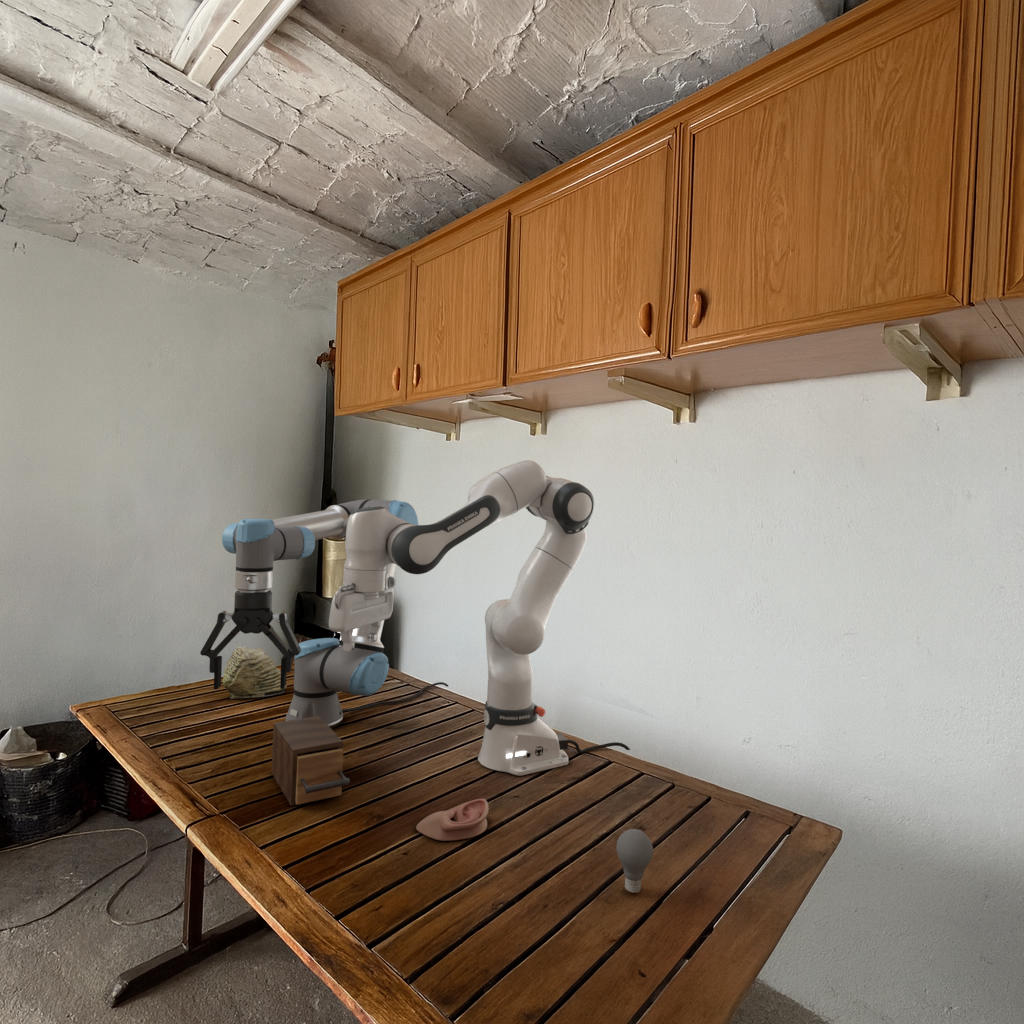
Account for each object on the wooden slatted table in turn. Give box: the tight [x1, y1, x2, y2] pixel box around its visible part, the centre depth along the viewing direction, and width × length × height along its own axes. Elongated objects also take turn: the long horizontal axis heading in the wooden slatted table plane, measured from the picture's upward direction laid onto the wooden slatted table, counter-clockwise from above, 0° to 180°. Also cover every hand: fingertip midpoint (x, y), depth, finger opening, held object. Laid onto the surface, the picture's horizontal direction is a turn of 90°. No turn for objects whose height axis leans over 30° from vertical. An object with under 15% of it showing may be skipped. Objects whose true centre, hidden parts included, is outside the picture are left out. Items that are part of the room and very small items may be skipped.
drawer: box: [296, 748, 351, 806], centre depth 135 cm, size 22×9×10 cm, turn 33°
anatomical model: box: [415, 798, 489, 842], centre depth 124 cm, size 13×4×12 cm
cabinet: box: [271, 716, 344, 807], centre depth 139 cm, size 18×10×12 cm, turn 33°
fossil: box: [222, 646, 288, 699], centre depth 198 cm, size 9×18×15 cm, turn 132°
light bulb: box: [615, 828, 654, 894], centre depth 106 cm, size 6×6×10 cm
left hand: (250, 687), depth 138 cm, fingers open, 13 cm apart
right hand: (360, 645), depth 136 cm, fingers open, 8 cm apart
